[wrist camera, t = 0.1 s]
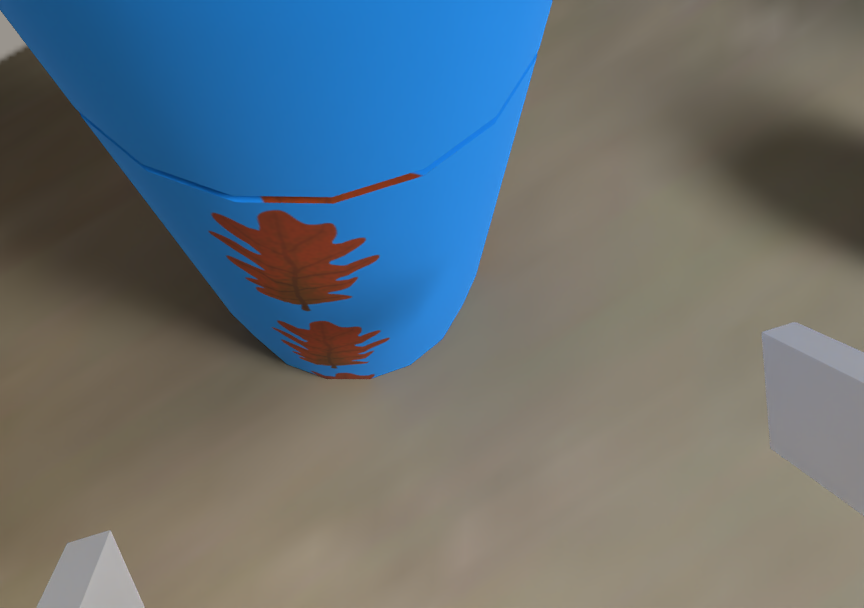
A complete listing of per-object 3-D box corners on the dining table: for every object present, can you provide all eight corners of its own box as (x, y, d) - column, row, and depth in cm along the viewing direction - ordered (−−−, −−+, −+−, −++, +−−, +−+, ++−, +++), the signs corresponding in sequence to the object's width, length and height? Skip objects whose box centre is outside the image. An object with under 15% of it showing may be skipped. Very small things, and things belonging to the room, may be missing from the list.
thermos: (218, 383, 30) (-517, -234, 6) (238, 157, 33) (-178, -811, 9) (476, 384, 30) (751, -189, 6) (471, 161, 33) (637, -756, 10)
